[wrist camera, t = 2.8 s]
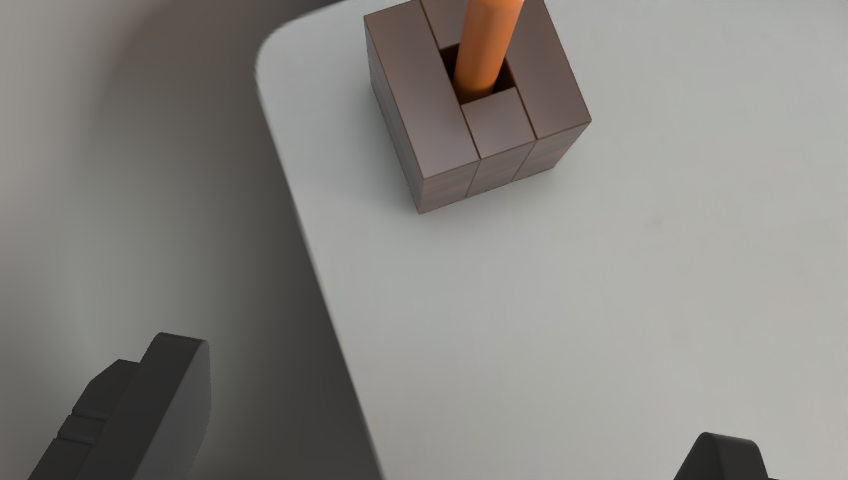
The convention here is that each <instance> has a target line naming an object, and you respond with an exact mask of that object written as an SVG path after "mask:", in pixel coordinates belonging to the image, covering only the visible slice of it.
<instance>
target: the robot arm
mask: <svg viewBox="0 0 848 480" xmlns="http://www.w3.org/2000/svg"><path fill="white" fill-rule="evenodd" d="M210 410H211V383H210V358H209V345H208V342H207V341H206V340H202V339H195V338H190V337H185V336H179V335H174V334H168V333H163V332H162V333H158V334H157V335H156V337H155V338H154V339H153V341H152V342H151V344H150V346H149V347H148V349H147V351H146V353H145V354H144V356H143V358H142V360H141V361H140V363H137V362H132V361H127V360H121V359H118V360H117V361H115V362H114V363H113V364H112V365H110V366H109V367H108V368H106V369H105V370H104V371H103V372H101V373H100V374H99V375H97V376H96V377H95V378H94V379H92V380H91V381H90V382H89V384H88V385H87V387H86V388H85V390H84V392H83V393H82V395H81V396H80V398H79V400H78V401H77V403H76V404H75V406H74V407H73V409H72V414H71V415H68V417H67V418H66V420H65V422H64V423H63V425H62V426H61V428H60V430H59V431H58V435H57V438H56V439H55V438H54V439H53V441H52V442H51V444H50V445H49V447H48V449H47V450H46V452H45V453H44V455H43V456H42V458H41V460H40V461H39V463H38V465H37V466H36V468H35V470H34V471H33V472H32V474H31V475H30V477H29V479H28V480H186V478H187V476H188V474H189V471H190V469H191V467H192V464H193V462H194V460H195V457H196V455H197V453H198V450H199V448H200V446H201V443H202V441H203V439H204V436H205V433H206V429H207V425H208V422H209V417H210ZM674 480H777V479H772V478H768V475H767V472H766V468H765V465H764V462H763V459H762V456H761V453H760V450H759V448H758V446H757V445H756V444H755V442H753V441H752V440H747V439H742V438H736V437H731V436H725V435H719V434H714V433H708V432H703V433H702V434H700V436H699V437H698V438H697V440H696V442H695V443H694V445H693V447H692V448H691V450H690V452H689V454H688V455H687V457H686V459H685V461H684V462H683V464H682V466H681V468H680V469H679V471H678V473H677V474H676V476H675V478H674Z"/></svg>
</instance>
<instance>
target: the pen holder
mask: <svg viewBox="0 0 848 480" xmlns="http://www.w3.org/2000/svg"><path fill="white" fill-rule="evenodd" d="M467 3H468V0H411V1H408V2H405V3H402V4H399V5H396V6H393V7H390V8H386V9H383V10H380V11H377V12H374V13H371V14H368V15H365V16H364V26H365V34H366V43H367V52H368V60H369V69H370V77H371V84H372V87H373V90H374V92H375V95H376V98H377V101H378V103H379V106H380V109H381V112H382V114H383V117H384V120H385V123H386V125H387V128H388V131H389V134H390V136H391V139H392V142H393V145H394V147H395V150H396V153H397V156H398V158H399V161H400V164H401V166H402V169H403V172H404V175H405V177H406V180H407V183H408V186H409V188H410V191H411V194H412V197H413V199H414V202H415V205H416V208H417V210H418V213H419V214H422V213H425V212H428V211H431V210H434V209H437V208H440V207H442V206H445V205H448V204H451V203H454V202H457V201H460V200H462V199H464V198H468V197H471V196H474V195H477V194H479V193H482V192H485V191H488V190H491V189H494V188H497V187H499V186H502V185H505V184H508V183H509V182H513V181H516V180H519V179H522V178H525V177H528V176H531V175H533V174H536V173H539V172H542V171H545V170H548V169H551V168H553V167H554V166H555V165H556V164H557V162H558V161H559V160H560V159H561V158H562V156H563V155H564V154H565V153H566V152H567V150H568V149H569V148H570V147H571V146H572V144H573V143H574V142H575V141H576V140H577V138H578V137H579V136H580V135H581V134H582V132H583V131H584V130H585V129H586V128H587V126H588V125H589V124H590V123H591V122H592V119H591V117H590V114H589V112H588V109H587V107H586V104H585V102H584V99H583V97H582V94H581V92H580V89H579V87H578V84H577V82H576V79H575V77H574V75H573V72H572V70H571V67H570V65H569V62H568V60H567V57H566V55H565V52H564V50H563V47H562V45H561V42H560V40H559V37H558V35H557V32H556V30H555V28H554V25H553V23H552V20H551V18H550V15H549V13H548V10H547V8H546V5H545V3H544V0H524V2H523V5H522V8H521V11H520V14H519V16H518V19H517V22H516V25H515V28H514V31H513V34H512V36H511V39H510V42H509V45H508V48H507V51H506V54H505V56H504V59H503V62H502V65H501V68H500V71H499V74H498V76H497V79H496V82H495V85H494V88H493V91H492V94H491V95H488V96H486V97H483V98H480V99H477V100H474V101H471V102H468V103H465V104H462V105H459V102H458V100H457V97H456V94H455V92H454V89H453V86H452V83H453V77H454V72H455V67H456V61H457V56H458V51H459V46H460V40H461V35H462V30H463V24H464V19H465V14H466V9H467Z"/></svg>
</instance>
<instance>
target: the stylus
mask: <svg viewBox="0 0 848 480" xmlns="http://www.w3.org/2000/svg"><path fill="white" fill-rule="evenodd" d="M523 2H524V0H468V3H467V9H466V14H465V19H464V24H463V30H462V35H461V40H460V46H459V51H458V56H457V61H456V67H455V72H454V77H453V83H452V86H453V89H454V92H455V94H456V97H457V100H458V102H459V105H462V104H465V103H468V102H471V101H474V100H477V99H480V98H483V97H486V96H488V95H491V94H492V91H493V88H494V85H495V82H496V79H497V76H498V74H499V71H500V68H501V65H502V62H503V59H504V56H505V54H506V51H507V48H508V45H509V42H510V39H511V36H512V34H513V31H514V28H515V25H516V22H517V19H518V16H519V14H520V11H521V8H522V5H523Z"/></svg>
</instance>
